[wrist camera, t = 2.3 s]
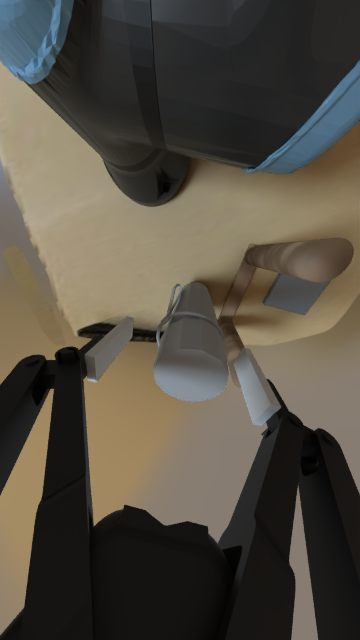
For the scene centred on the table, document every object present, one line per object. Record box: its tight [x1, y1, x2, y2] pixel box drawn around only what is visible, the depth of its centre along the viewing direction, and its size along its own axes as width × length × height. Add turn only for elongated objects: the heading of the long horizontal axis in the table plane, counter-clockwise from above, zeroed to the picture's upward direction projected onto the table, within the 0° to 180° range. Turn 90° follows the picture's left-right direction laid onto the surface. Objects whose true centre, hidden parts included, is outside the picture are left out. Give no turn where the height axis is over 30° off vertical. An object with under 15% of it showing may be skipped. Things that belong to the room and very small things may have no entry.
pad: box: [263, 273, 332, 315], centre depth 30 cm, size 10×10×1 cm
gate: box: [217, 238, 353, 388], centre depth 24 cm, size 20×4×19 cm, turn 167°
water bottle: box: [153, 282, 229, 402], centre depth 23 cm, size 9×8×25 cm
